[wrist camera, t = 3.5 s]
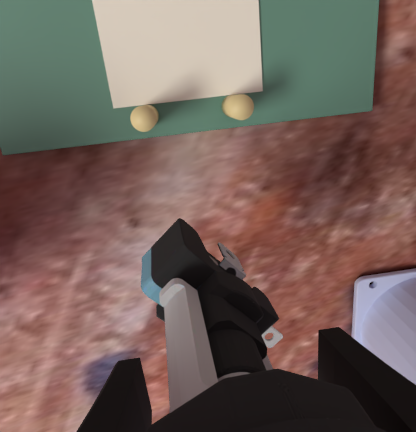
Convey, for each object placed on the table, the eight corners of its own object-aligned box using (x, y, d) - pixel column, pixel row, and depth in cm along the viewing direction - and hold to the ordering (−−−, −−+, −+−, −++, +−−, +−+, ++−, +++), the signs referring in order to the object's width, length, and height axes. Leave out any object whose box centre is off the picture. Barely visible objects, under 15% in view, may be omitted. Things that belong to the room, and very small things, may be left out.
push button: (307, 280, 14) (583, 613, 5) (223, 358, 15) (333, 767, 6) (197, 182, 12) (348, 473, 3) (105, 280, 13) (-11, 756, 4)
